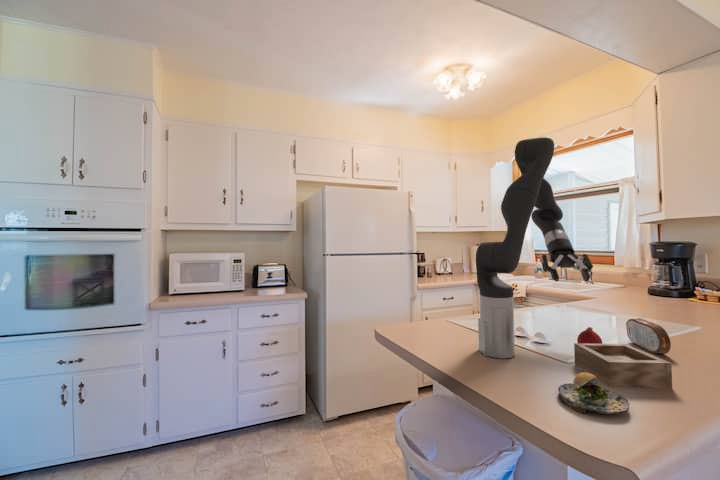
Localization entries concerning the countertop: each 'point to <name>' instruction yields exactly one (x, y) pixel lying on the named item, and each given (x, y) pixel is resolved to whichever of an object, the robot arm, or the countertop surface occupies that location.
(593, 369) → the open wooden tray box
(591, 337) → the onion
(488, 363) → the countertop surface
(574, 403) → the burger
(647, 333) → the tin
